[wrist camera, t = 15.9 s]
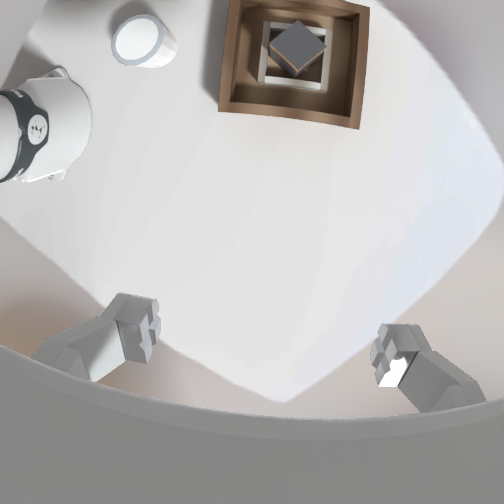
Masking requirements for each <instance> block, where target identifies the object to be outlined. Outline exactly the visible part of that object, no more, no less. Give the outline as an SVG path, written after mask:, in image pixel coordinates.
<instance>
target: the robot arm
mask: <svg viewBox="0 0 504 504" xmlns="http://www.w3.org/2000/svg"><path fill="white" fill-rule="evenodd" d="M53 76H54V77H53ZM90 131H91V109H90V104H89V101H88V98H87V96H86V94H85V93H84V91H83V90H82V89H81V88H80V87H79V86H78V85H77V84H75V83H74V82H72V81H71V80H70V79H69V76H68V74H67V72H66V71H65V69H64V68H56V69H54V70H52V71H50V72H48V73H46V74H44V75H42V76H41V77H39V78H31V79H27V80H26V82H24V83H22V84H21V85H19V86H18V87H17V88H15V89H14V90H12V89H7V90H3V91H0V183H2V182H6V181H10V180H17V179H20V181H21V182H24V181H27V182H32V181H35V180H38V179H45V180H49V181H52V182H60V181H62V180H63V179H64V177H65V175H66V173H67V170H68V168H69V167H70V165H71V164H72V163H73V162H75V161H76V160H77V159H78V157H79V156H80V155H81V154H82V152H83V150H84V149H85V147H86V144H87V142H88V139H89V135H90ZM158 311H159V303H158V301H157V299H152V298H147V297H142V296H137V295H131V294H126V293H118V294H117V295H116V296H115V297H114V299H113V300H112V301H111V303H110V304H109V305H108V307H107V308H106V309H105V311H104V312H103V313H102V315H101V316H100V317H94V318H92V319H90V320H88V321H85V322H83V323H81V324H78V325H76V326H74V327H71V328H69V329H67V330H65V331H63V332H60V333H58V334H56V335H53V336H51V337H49V338H47V339H45V341H44V342H43V343H42V345H41V346H40V347H39V348H38V350H37V351H36V352H35V354H34V355H33V356H32V358H29V357H27V356H24V355H22V354H20V353H18V352H15V351H13V350H11V349H9V348H7V347H5V346H2V345H1V344H0V504H504V398H499V399H495V400H492V401H486V398H485V397H484V394H483V392H482V390H481V388H480V386H479V384H478V383H477V381H476V380H474V379H473V378H472V377H470V376H469V375H468V374H466V373H465V372H464V371H462V370H461V369H460V368H458V367H457V366H455V365H454V364H453V363H451V362H450V361H449V360H447V359H446V358H444V357H443V356H442V355H440V354H439V353H438V352H436V351H432V349H431V347H430V345H429V343H428V341H427V339H426V338H425V336H424V334H423V332H422V331H421V328H420V326H419V325H417V324H382V325H381V326H380V327H379V330H378V334H379V337H378V338H377V339H376V340H374V342H373V344H372V347H371V352H370V358H371V363H372V365H373V366H374V367H375V368H376V371H375V376H376V380H377V384H378V386H380V387H382V386H384V387H385V386H398V388H399V389H400V390H401V391H402V392H403V394H404V395H405V396H406V397H407V398H408V399H409V400H410V401H411V402H412V403H413V404H414V406H415V407H416V408H417V409H418V410H419V411H420V412H421V413H418V414H409V415H399V416H389V417H388V416H387V417H372V418H342V419H340V418H339V419H338V418H337V419H336V418H335V419H330V418H329V419H328V418H323V419H322V418H293V417H276V416H264V415H253V414H244V413H235V412H227V411H220V410H213V409H206V408H201V407H195V406H189V405H184V404H179V403H173V402H169V401H164V400H159V399H155V398H151V397H147V396H142V395H139V394H135V393H131V392H127V391H123V390H119V389H116V388H113V387H109V386H106V385H103V384H99V383H96V381H98V380H99V379H100V378H102V377H103V376H105V375H106V374H108V373H109V372H110V371H112V370H113V369H115V368H116V367H117V366H119V365H120V364H122V363H123V362H125V360H130V361H135V362H140V363H145V364H147V363H148V361H149V358H150V356H151V354H152V352H153V349H152V345H154V344H156V343H157V341H158V339H159V335H160V331H161V321H160V318H159V317H158V315H157V312H158Z"/></svg>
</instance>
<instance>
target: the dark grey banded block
mask: <svg viewBox="0 0 504 504" xmlns="http://www.w3.org/2000/svg"><path fill="white" fill-rule="evenodd" d="M269 46H270V58H271V59H272V60H273V61H274V62H275V63H277V64H278V65H279V66H280V67H281V68H282V69H283V70H284V71H285V72H286V73H287V74H288V75H289V76H290V77H291V78H292V79H295V78H296V77H297V76H298V75H299V74H301V73H302V72H303V71H304V70H305V69H307V68H308V67H309V66H310V65H311V64H313V63H314V62H315V61H316V60H317V59H318V58H319V56H320V55H321V54H322V53H323V51H324V50H325V49H326V48H327V46H326V45H325V44H324V43H323V42H322V41H321V40H320V39H319V38H318V37H316V36H315V35H314V34H313V33H312V32H311V31H310V30H309V29H308V28H307V27H306V26H304V25H303V24H302V23H301V22H300V21H299V20H298V21H296V22H295V23H294V24H292V25H291V26H290V27H289V28H287V29H286V30H285V31H283V32H282V33H281V34H280V35H279V36H277V37H276V38H275V39H274V40H272V41H271V42H270V43H269Z"/></svg>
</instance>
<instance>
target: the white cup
mask: <svg viewBox="0 0 504 504" xmlns="http://www.w3.org/2000/svg"><path fill="white" fill-rule="evenodd" d="M111 49H112V54H113V56H114V57H115V59H116V60H117V61H118V62H119V63H122V64H124V65H126V66H138V67H150V68H158V67H161V66H164V65H166V64H167V63H168V62H170V61H171V60H172V59H173V57H174V55H175V54H176V50H177V42H176V39H175V37H174V36H173V35H172V34H171V33H170V32H169V31H168V29H167V28H166V27H165V26H164V25H163V24H162V23H161V22H160V21H159V20H158V18H157V17H154V16H152V15H149V14H140V15H136V16H133V17H131V18H129V19H127V20H126V21H125V22H123V23H122V24H121V25H120V26H119V27H118V29H117V30H116V32H115V34H114V35H113V39H112V44H111Z"/></svg>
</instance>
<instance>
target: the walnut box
mask: <svg viewBox="0 0 504 504" xmlns="http://www.w3.org/2000/svg"><path fill="white" fill-rule="evenodd" d="M369 18H370V7H366V6H362V5H358V4H354V3H350V2H346V1H341V0H230V3H229V11H228V18H227V27H226V35H225V44H224V53H223V62H222V72H221V82H220V93H219V104H218V112H230V113H244V114H256V115H266V116H276V117H284V118H292V119H299V120H306V121H313V122H319V123H326V124H331V125H337V126H342V127H348V128H353V129H358V130H359V127H360V120H361V112H362V104H363V95H364V86H365V76H366V65H367V52H368V37H369ZM298 20H299V21H300V22H301V23H302V24H303V25H304V26H306V27H307V28H308V29H309V30H310V31H311V32H312V33H313V34H314V35H315V36H316V37H318V38H319V39H320V40H321V41H322V42H323V43H324V44H325V45H326V46H327V48H326V49H325V50H324V51H323V53H322V54H321V55H320V56H319V58H318V59H317V60H316V61H315V62H314V63H313V64H311V65H310V66H309V67H308V68H307V69H305V70H304V71H303V72H302V73H301V74H299V75H298V76H297V77H296V78H295V79H292V78H291V77H290V76H289V75H288V74H287V73H286V72H285V71H284V70H283V69H282V68H281V67H280V66H279V65H278V64H277V63H275V62H274V61H273V60H272V59H271V58H270V46H269V43H270V42H271V41H272V40H274V39H275V38H276V37H277V36H279V35H280V34H281V33H282V32H283V31H285V30H286V29H287V28H289V27H290V26H291V25H292V24H294V23H295V22H296V21H298Z"/></svg>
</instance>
